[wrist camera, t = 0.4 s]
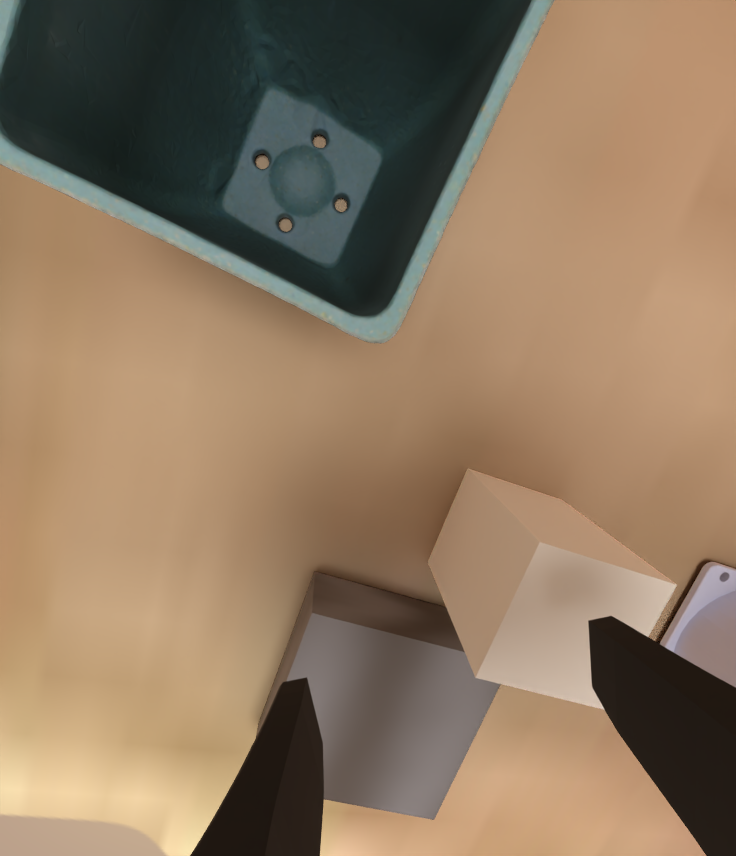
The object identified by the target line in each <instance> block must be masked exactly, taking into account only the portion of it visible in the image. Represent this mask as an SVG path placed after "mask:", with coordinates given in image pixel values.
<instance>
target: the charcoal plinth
mask: <svg viewBox="0 0 736 856" xmlns="http://www.w3.org/2000/svg"><path fill="white" fill-rule="evenodd" d="M306 677H307V679H308V684H309V688H310V692H311V696H312V700H313V704H314V708H315V712H316V716H317V721H318V725H319V729H320V733H321V737H322V741H323V765H324V799H325V800H331V801H336V802H341V803H347V804H352V805H357V806H363V807H368V808H373V809H379V810H384V811H389V812H395V813H400V814H405V815H411V816H416V817H421V818H427V819H432V820H434V819H435V817H436V815H437V813H438V811H439V809H440V807H441V805H442V802H443V800H444V798H445V796H446V794H447V792H448V790H449V788H450V786H451V784H452V782H453V780H454V778H455V776H456V774H457V772H458V770H459V768H460V766H461V764H462V762H463V760H464V758H465V756H466V754H467V752H468V750H469V747H470V745H471V743H472V741H473V739H474V737H475V735H476V733H477V731H478V729H479V727H480V725H481V723H482V721H483V719H484V717H485V715H486V713H487V711H488V709H489V707H490V705H491V703H492V701H493V699H494V697H495V695H496V692H497V690H498V688H499V686H500V684H499V683H495V682H490V681H486V680H482V679H478V678H475V675H474V673H473V671H472V668H471V666H470V663H469V661H468V659H467V656H466V654H465V651H464V649H463V647H462V644H461V642H460V639H459V637H458V635H457V632H456V630H455V627H454V625H453V623H452V620H451V618H450V615H449V613H448V610H447V608H446V607H442V606H439V605H435V604H431V603H428V602H424V601H421V600H417V599H413V598H410V597H406V596H402V595H399V594H395V593H391V592H388V591H384V590H380V589H377V588H373V587H369V586H366V585H362V584H358V583H355V582H351V581H347V580H344V579H340V578H337V577H333V576H329V575H326V574H322V573H318V572H314V575H313V577H312V580H311V583H310V586H309V588H308V591H307V594H306V596H305V599H304V602H303V604H302V607H301V610H300V613H299V615H298V618H297V621H296V623H295V626H294V629H293V632H292V634H291V637H290V640H289V642H288V645H287V648H286V651H285V653H284V656H283V659H282V661H281V664H280V667H279V670H278V672H277V675H276V678H275V680H274V683H273V686H272V689H271V691H270V694H269V697H268V699H267V702H266V705H265V708H264V710H263V713H262V716H261V718H260V721H259V724H258V729H257V735H258V733H259V731H260V729H261V727H262V725H263V722H264V720H265V718H266V716H267V714H268V712H269V709H270V707H271V705H272V702H273V700H274V698H275V696H276V693H277V691H278V689H279V687H280V685H281V684H282V683H283V682H286V681H291V680H296V679H301V678H306ZM257 735H256V737H257Z"/></svg>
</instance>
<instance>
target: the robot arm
mask: <svg viewBox="0 0 736 856" xmlns="http://www.w3.org/2000/svg"><path fill="white" fill-rule="evenodd" d="M588 625H589V643H590V661H591V679H592V688H593V690H594V692H595V693H596V695H597V697H598V699H599V700H600V702H601V704H602V706H603V708H604V709H605V711H606V713H607V714H608V716H609V718H610V720H611V721H612V723H613V725H614V726H615V728H616V730H617V731H618V733H619V734H620V736H621V737H622V738H623V740H624V741H625V743H626V744H627V745H628V747H629V748H630V750H631V751H632V752H633V754H634V755H635V757H636V758H637V759H638V761H639V762H640V764H641V765H642V766H643V768H644V769H645V771H646V772H647V773H648V775H649V776H650V777H651V779H652V780H653V782H654V783H655V784H656V786H657V787H658V788H659V790H660V791H661V793H662V794H663V795H664V797H665V798H666V799H667V801H668V802H669V804H670V805H671V806H672V808H673V809H674V810H675V812H676V813H677V815H678V816H679V817H680V819H681V820H682V822H683V823H684V824H685V826H686V827H687V828H688V830H689V831H690V833H691V834H692V835H693V837H694V838H695V839H696V841H697V842H698V844H699V845H700V847H701V848H702V850H703V851H704V853H705V854H706V856H736V569H735V568H732V567H729V566H726V565H723V564H720V563H716V562H709V563H707V564H705V565H704V566H703V568H702V569H701V571H700V573H699V575H698V576H697V578H696V580H695V582H694V583H693V585H692V587H691V589H690V590H689V592H688V594H687V596H686V598H685V599H684V601H683V603H682V605H681V606H680V608H679V610H678V612H677V614H676V615H675V617H674V619H673V621H672V622H671V624H670V626H669V628H668V629H667V631H666V633H665V635H664V637H663V638H662V640H661V642H660V644H659V643H657V642H655V641H654V640H652V639H650V638H649V637H647V636H645V635H644V634H642V633H640V632H639V631H637V630H635V629H634V628H632V627H630V626H628V625H627V624H625V623H623V622H622V621H620V620H618V619H616V618H615V617H613V616H608V617H603V618H598V619H593V620H588ZM323 800H324V765H323V741H322V737H321V733H320V729H319V725H318V721H317V716H316V712H315V708H314V704H313V700H312V696H311V692H310V688H309V684H308V679H307V677H306V678H301V679H296V680H291V681H286V682H283V683H282V684H281V685H280V687H279V689H278V691H277V693H276V696H275V698H274V700H273V702H272V705H271V707H270V709H269V712H268V714H267V716H266V718H265V720H264V722H263V725H262V727H261V729H260V731H259V733H258V735H257V737H256V739H255V741H254V743H253V745H252V747H251V749H250V751H249V753H248V755H247V757H246V759H245V761H244V763H243V765H242V767H241V769H240V771H239V773H238V775H237V777H236V778H235V780H234V782H233V784H232V786H231V787H230V789H229V791H228V793H227V795H226V796H225V798H224V800H223V802H222V804H221V805H220V807H219V809H218V811H217V812H216V814H215V816H214V818H213V819H212V821H211V823H210V825H209V826H208V828H207V830H206V831H205V833H204V835H203V836H202V838H201V839H200V841H199V843H198V844H197V846H196V848H195V849H194V851H193V852H192V854H191V855H190V856H320V843H321V829H322V815H323Z"/></svg>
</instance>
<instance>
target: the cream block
mask: <svg viewBox="0 0 736 856" xmlns="http://www.w3.org/2000/svg"><path fill="white" fill-rule="evenodd" d="M428 565H429V567H430V570H431V572H432V574H433V577H434V579H435V582H436V584H437V586H438V589H439V591H440V594H441V596H442V598H443V601H444V603H445V606H446V608H447V610H448V613H449V615H450V618H451V620H452V623H453V625H454V627H455V630H456V632H457V635H458V637H459V639H460V642H461V644H462V647H463V649H464V651H465V654H466V656H467V659H468V661H469V663H470V666H471V668H472V671H473V673H474V675H475V678H478V679H482V680H486V681H490V682H495V683H499V684H503V685H507V686H511V687H515V688H519V689H523V690H527V691H531V692H535V693H539V694H543V695H547V696H551V697H555V698H559V699H563V700H567V701H571V702H575V703H579V704H583V705H587V706H591V707H595V708H599V709H603V710H605V709H604V708H603V706H602V704H601V702H600V700H599V699H598V697H597V695H596V693H595V692H594V690H593V688H592V679H591V661H590V643H589V625H588V620H593V619H598V618H603V617H608V616H613V617H615V618H616V619H618V620H620V621H622V622H623V623H625V624H627V625H628V626H630V627H632V628H634V629H635V630H637V631H639V632H640V633H642V634H644V635H645V636H647V637H649V635H650V633H651V631H652V629H653V628H654V626H655V624H656V622H657V620H658V619H659V617H660V615H661V613H662V611H663V610H664V608H665V606H666V604H667V602H668V601H669V599H670V597H671V595H672V593H673V592H674V590H675V588H676V586H677V584H675V583H674V582H673V581H671V580H670V579H669V578H667V577H666V576H665V575H663V574H662V573H661V572H659V571H658V570H656V569H655V568H654V567H652V566H651V565H650V564H648V563H647V562H646V561H644V560H643V559H642V558H640V557H639V556H638V555H636V554H635V553H633V552H632V551H631V550H629V549H628V548H627V547H625V546H624V545H623V544H621V543H620V542H619V541H617V540H616V539H615V538H613V537H612V536H610V535H609V534H608V533H606V532H605V531H604V530H602V529H601V528H600V527H598V526H597V525H596V524H594V523H593V522H592V521H590V520H589V519H587V518H586V517H585V516H583V515H582V514H581V513H579V512H578V511H577V510H575V509H574V508H573V507H571V506H570V505H569V504H567V503H566V502H564V501H563V500H562V499H559V498H556V497H553V496H550V495H547V494H544V493H541V492H538V491H535V490H532V489H529V488H526V487H523V486H520V485H517V484H514V483H511V482H508V481H505V480H502V479H499V478H496V477H492V476H489V475H486V474H483V473H480V472H477V471H474V470H471V469H468V468H467V470H466V473H465V475H464V477H463V480H462V482H461V485H460V487H459V489H458V492H457V494H456V496H455V499H454V501H453V503H452V506H451V508H450V511H449V513H448V515H447V518H446V520H445V522H444V525H443V527H442V529H441V532H440V534H439V536H438V539H437V541H436V544H435V546H434V548H433V551H432V553H431V555H430V558H429V560H428Z"/></svg>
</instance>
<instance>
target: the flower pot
mask: <svg viewBox="0 0 736 856" xmlns="http://www.w3.org/2000/svg"><path fill="white" fill-rule="evenodd" d="M553 2H554V0H0V164H1V165H3V166H5V167H7V168H9V169H11V170H12V171H15V172H18V173H20V174H23V175H25V176H27V177H30V178H32V179H34V180H36V181H38V182H40V183H42V184H44V185H47V186H49V187H51V188H53V189H55V190H57V191H59V192H61V193H63V194H66V195H68V196H70V197H72V198H74V199H76V200H78V201H81V202H83V203H85V204H87V205H89V206H91V207H93V208H95V209H98V210H100V211H102V212H104V213H106V214H108V215H110V216H112V217H114V218H117V219H119V220H122V221H124V222H125V223H127V224H129V225H132V226H134V227H136V228H138V229H141V230H143V231H145V232H146V233H148V234H150V235H153V236H155V237H157V238H159V239H161V240H163V241H165V242H167V243H170V244H172V245H173V246H175V247H178V248H180V249H182V250H184V251H186V252H188V253H190V254H192V255H193V256H195V257H197V258H199V259H201V260H203V261H206V262H208V263H210V264H212V265H214V266H216V267H218V268H220V269H222V270H224V271H226V272H228V273H230V274H232V275H234V276H237V277H239V278H241V279H242V280H244V281H246V282H248V283H250V284H252V285H254V286H256V287H258V288H261V289H263V290H265V291H266V292H268V293H270V294H272V295H274V296H276V297H278V298H280V299H282V300H284V301H286V302H288V303H290V304H292V305H295V306H296V307H298V308H300V309H302V310H304V311H306V312H308V313H309V314H311V315H313V316H316V317H317V318H319V319H321V320H323V321H325V322H327V323H329V324H331V325H333V326H335V327H337V328H338V329H340V330H342V331H344V332H345V333H347V334H349V335H351V336H354V337H356V338H358V339H361V340H363V341H366V342H370V343H384V342H387V341H388V340H390V339H391V338H392V337H393V336H394V335H395V334H396V333H397V331H398V330H399V328H400V326H401V324H402V322H403V320H404V318H405V316H406V314H407V312H408V310H409V308H410V306H411V304H412V301H413V299H414V297H415V294H416V291H417V289H418V287H419V285H420V283H421V281H422V279H423V276H424V274H425V272H426V270H427V267H428V265H429V263H430V261H431V259H432V257H433V254H434V252H435V250H436V248H437V246H438V244H439V242H440V240H441V238H442V235H443V232H444V230H445V228H446V226H447V224H448V221H449V218H450V217H451V216H452V213H453V211H454V208H455V206H456V204H457V202H458V200H459V197H460V195H461V193H462V191H463V189H464V187H465V185H466V183H467V180H468V178H469V176H470V174H471V172H472V169H473V168H474V166H475V164H476V163H477V160H478V158H479V156H480V154H481V151H482V149H483V147H484V145H485V142H486V140H487V138H488V136H489V134H490V132H491V130H492V128H493V125H494V123H495V121H496V119H497V117H498V115H499V113H500V111H501V108H502V106H503V104H504V102H505V100H506V98H507V96H508V94H509V92H510V89H511V87H512V85H513V84H514V82H515V79H516V77H517V75H518V73H519V71H520V69H521V67H522V64H523V62H524V60H525V59H526V57H527V55H528V53H529V51H530V49H531V46H532V44H533V42H534V40H535V38H536V36H537V34H538V32H539V30H540V28H541V25H542V24H543V22H544V20H545V19H546V16H547V14H548V12H549V9H550V7H551V6H552V4H553ZM317 134H321V135H323V136H324V137H325V139H326V146H325V147H324V148H317V147H315V146H314V145H313V142H312V141H313V138H314V136H315V135H317ZM259 154H265V155H266V156H267V157H268V159H269V166H268V167H267V168H266V169H259V168H258V167H257V166H256V165H255V158H256V156H257V155H259ZM338 198H344V199H345V200H346V201H347V209H346V210H345V211H344V212H339V211H337V210H336V209H335V201H336V200H337V199H338ZM284 217H286V218H288V219H290V220H291V222H292V228H291V230H290V231H288V232H284V231H282V230H280V228H279V221H280V219H282V218H284Z"/></svg>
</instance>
